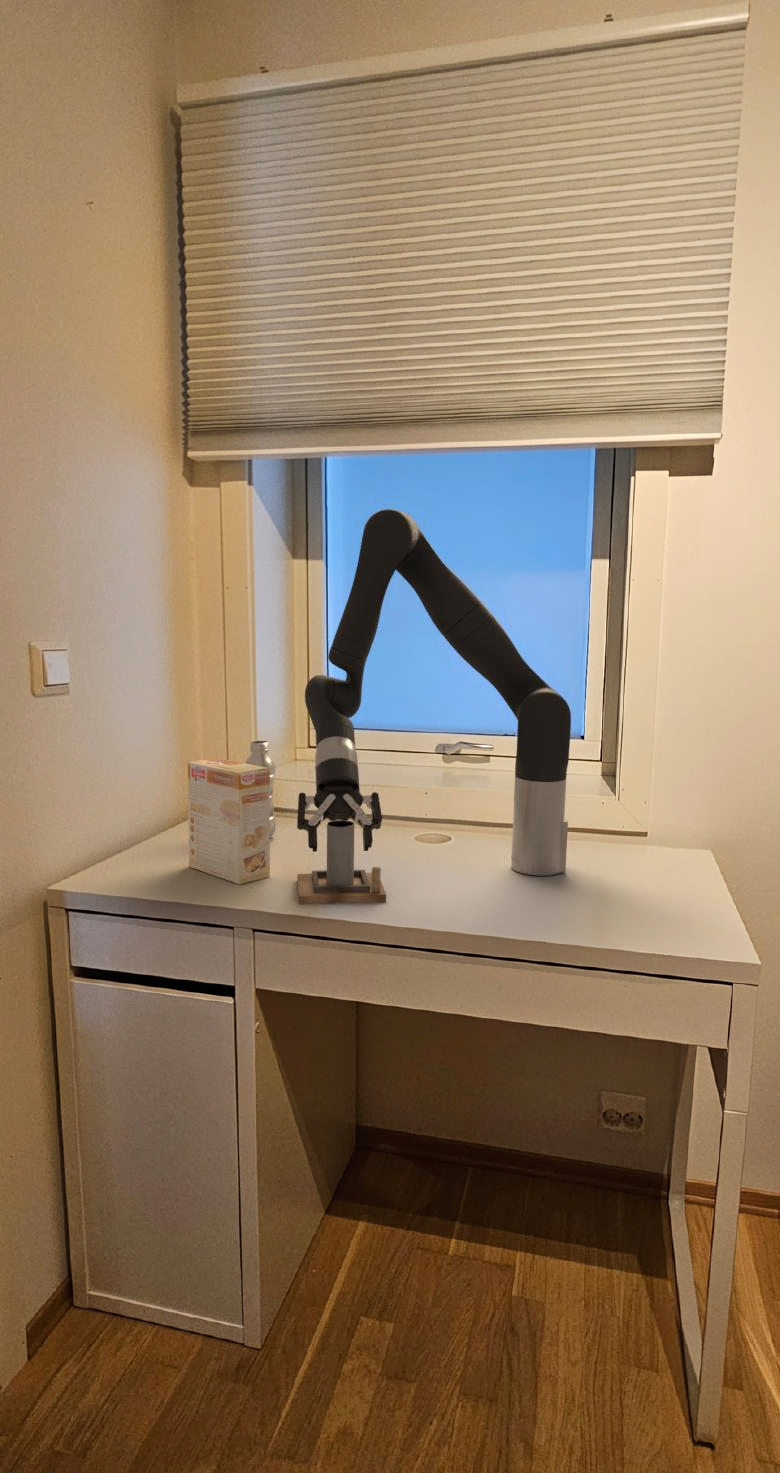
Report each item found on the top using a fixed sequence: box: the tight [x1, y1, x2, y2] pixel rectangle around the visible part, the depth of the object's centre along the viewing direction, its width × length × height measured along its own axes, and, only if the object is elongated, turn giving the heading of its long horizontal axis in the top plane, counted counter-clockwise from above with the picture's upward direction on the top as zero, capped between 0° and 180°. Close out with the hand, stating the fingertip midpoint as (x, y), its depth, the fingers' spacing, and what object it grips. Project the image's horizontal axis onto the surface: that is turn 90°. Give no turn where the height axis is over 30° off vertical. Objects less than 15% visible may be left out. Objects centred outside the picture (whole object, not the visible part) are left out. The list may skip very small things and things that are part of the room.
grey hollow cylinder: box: [326, 820, 355, 885], centre depth 141 cm, size 4×4×10 cm
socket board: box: [296, 866, 387, 905], centre depth 141 cm, size 14×12×5 cm
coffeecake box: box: [187, 757, 271, 885], centre depth 150 cm, size 15×7×20 cm, turn 48°
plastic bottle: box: [244, 740, 277, 838], centre depth 173 cm, size 6×7×20 cm
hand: (340, 849), depth 140 cm, fingers open, 8 cm apart
